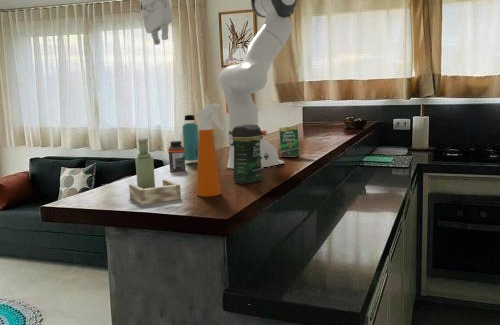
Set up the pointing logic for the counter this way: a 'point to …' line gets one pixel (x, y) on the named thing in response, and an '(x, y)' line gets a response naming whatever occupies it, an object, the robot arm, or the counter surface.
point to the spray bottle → (207, 153)
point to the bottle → (144, 166)
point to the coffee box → (289, 141)
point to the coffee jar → (247, 154)
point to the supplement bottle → (176, 157)
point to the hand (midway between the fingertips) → (161, 42)
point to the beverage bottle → (190, 139)
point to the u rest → (155, 193)
